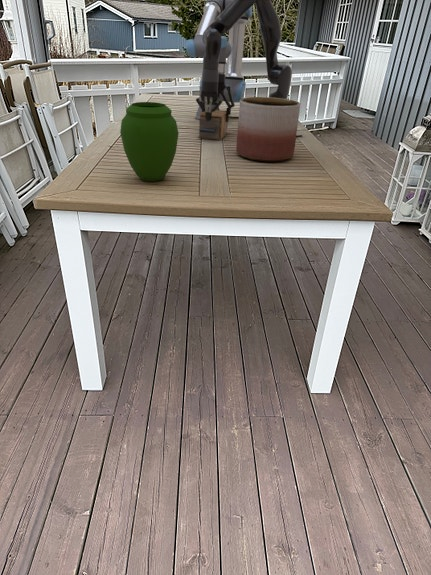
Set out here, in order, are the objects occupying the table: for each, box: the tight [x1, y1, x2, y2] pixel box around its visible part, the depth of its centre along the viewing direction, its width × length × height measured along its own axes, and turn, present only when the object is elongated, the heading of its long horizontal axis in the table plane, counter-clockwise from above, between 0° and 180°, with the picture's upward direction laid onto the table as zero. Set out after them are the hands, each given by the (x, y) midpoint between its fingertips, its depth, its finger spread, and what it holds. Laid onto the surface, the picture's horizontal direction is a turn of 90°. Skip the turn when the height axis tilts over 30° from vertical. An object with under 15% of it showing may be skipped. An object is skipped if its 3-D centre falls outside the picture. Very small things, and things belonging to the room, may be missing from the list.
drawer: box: [198, 117, 220, 140], centre depth 204 cm, size 21×10×9 cm, turn 168°
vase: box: [119, 101, 179, 182], centre depth 140 cm, size 20×20×24 cm
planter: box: [235, 96, 301, 163], centre depth 175 cm, size 25×25×22 cm
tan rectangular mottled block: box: [198, 109, 228, 141], centre depth 208 cm, size 17×11×11 cm, turn 168°
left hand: (215, 120), depth 212 cm, fingers closed on tan rectangular mottled block, 11 cm apart
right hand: (208, 120), depth 195 cm, fingers closed
